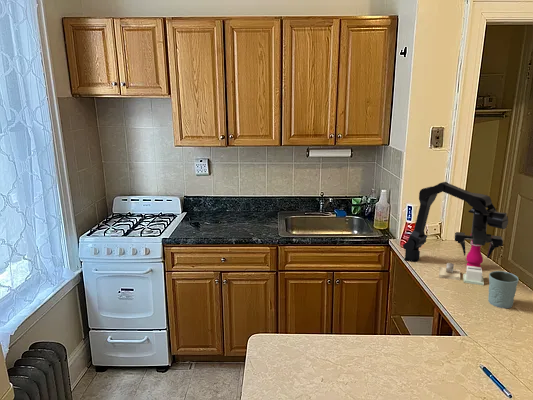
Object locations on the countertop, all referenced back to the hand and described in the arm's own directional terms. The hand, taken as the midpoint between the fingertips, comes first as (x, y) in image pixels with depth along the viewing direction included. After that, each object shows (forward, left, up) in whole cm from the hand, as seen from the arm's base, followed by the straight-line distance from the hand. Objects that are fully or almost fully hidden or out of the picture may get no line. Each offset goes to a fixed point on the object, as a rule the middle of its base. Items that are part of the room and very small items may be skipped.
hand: (476, 256), depth 176 cm
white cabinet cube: (0, 0, -11) cm, 11 cm away
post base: (-10, +2, -12) cm, 15 cm away
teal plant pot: (+9, -19, -12) cm, 24 cm away
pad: (0, 0, -12) cm, 12 cm away
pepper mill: (+1, +15, -12) cm, 19 cm away
